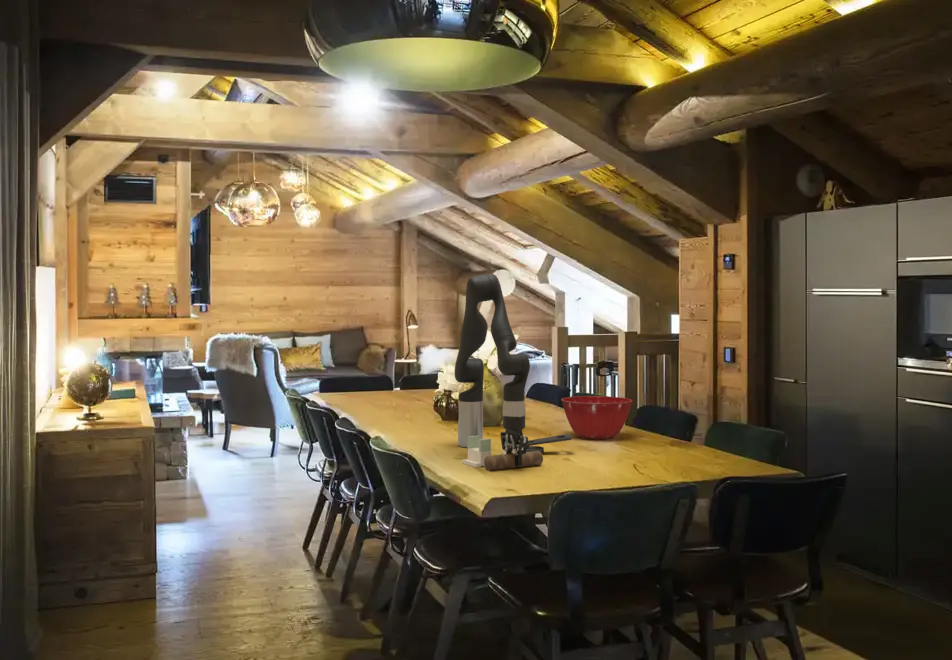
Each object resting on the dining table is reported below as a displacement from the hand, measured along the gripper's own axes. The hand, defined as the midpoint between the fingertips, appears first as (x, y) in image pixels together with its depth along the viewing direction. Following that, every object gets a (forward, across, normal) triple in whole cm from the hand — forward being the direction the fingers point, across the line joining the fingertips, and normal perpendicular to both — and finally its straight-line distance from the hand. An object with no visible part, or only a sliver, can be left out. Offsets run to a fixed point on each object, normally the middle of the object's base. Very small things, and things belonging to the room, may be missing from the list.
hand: (513, 464), depth 307 cm
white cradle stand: (+1, -11, 0) cm, 11 cm away
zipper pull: (+1, -19, +22) cm, 29 cm away
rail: (+1, 0, 0) cm, 1 cm away
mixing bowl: (+1, -39, +64) cm, 75 cm away
